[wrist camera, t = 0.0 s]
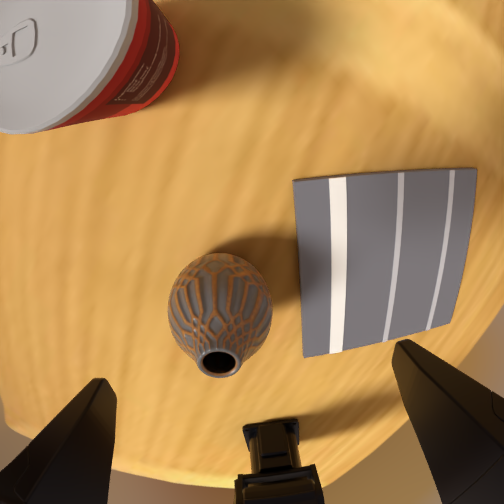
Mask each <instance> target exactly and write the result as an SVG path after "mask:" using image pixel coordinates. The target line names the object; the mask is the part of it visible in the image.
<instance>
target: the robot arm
mask: <svg viewBox="0 0 504 504" xmlns="http://www.w3.org/2000/svg"><path fill="white" fill-rule="evenodd" d="M392 367H393V370H394V374H395V377H396V380H397V383H398V386H399V390H400V393H401V396H402V400H403V403H404V406H405V408H406V411H407V413H408V416H409V418H410V421H411V423H412V425H413V428H414V430H415V433H416V435H417V437H418V440H419V442H420V445H421V447H422V450H423V452H424V455H425V458H426V460H427V463H428V465H429V468H430V470H431V473H432V476H433V479H434V481H435V484H436V487H437V490H438V492H439V495H440V498H441V501H442V504H504V398H502V397H501V396H499V395H498V394H496V393H494V392H493V391H492V392H491V390H490V389H488V388H487V387H485V386H483V385H482V384H480V383H479V382H477V381H475V380H474V379H472V378H471V377H469V376H467V375H466V374H464V373H463V372H461V371H459V370H458V369H456V368H455V367H453V366H452V365H450V364H448V363H447V362H445V361H444V360H442V359H440V358H439V357H437V356H436V355H434V354H432V353H431V352H429V351H428V350H426V349H424V348H423V347H421V346H420V345H418V344H416V343H415V342H413V341H412V340H410V339H405V340H401V341H398V342H397V343H396V344H395V348H394V353H393V357H392ZM116 408H117V397H116V394H115V392H114V391H113V389H112V387H111V386H110V384H109V382H108V381H107V380H106V379H105V378H94V379H92V380H91V381H90V382H89V383H88V384H87V385H86V386H85V387H84V388H83V389H82V390H81V391H80V392H79V393H78V394H77V395H76V396H75V397H74V398H73V399H72V400H71V401H70V402H69V403H68V404H67V405H66V406H65V407H64V408H63V409H62V410H61V411H60V412H59V414H58V415H57V416H56V417H55V418H54V419H53V420H52V421H51V422H50V423H49V424H48V425H47V426H46V427H45V428H44V429H43V430H42V431H41V432H40V433H39V434H38V435H37V436H36V437H35V438H34V439H33V440H32V441H31V442H30V444H29V445H28V446H26V448H25V449H24V450H23V451H22V452H21V453H20V454H19V455H18V456H17V457H16V458H15V459H14V460H13V461H12V462H11V463H9V464H8V466H6V467H5V468H4V469H3V470H1V472H0V504H107V501H108V490H109V481H110V474H111V466H112V458H113V451H114V443H115V427H116ZM242 429H243V434H244V437H245V440H246V443H247V447H248V450H249V452H250V458H251V470H252V474H244V475H243V474H238V479H236V480H234V482H235V495H234V503H233V504H325V503H324V496H323V491H322V487H321V484H320V480H319V477H318V473H317V470H316V466H315V464H312V465H310V466H305V467H302V466H301V460H300V455H299V450H298V445H299V423H298V420H297V419H291V420H285V421H278V422H271V423H264V424H255V425H247V426H243V428H242Z"/></svg>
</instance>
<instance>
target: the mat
mask: <svg viewBox="0 0 504 504" xmlns="http://www.w3.org/2000/svg"><path fill="white" fill-rule="evenodd" d="M476 179H477V169H475V168H442V169H419V170H400V171H385V172H371V173H358V174H346V175H335V176H325V177H315V178H306V179H297V180H292V181H293V192H294V204H295V217H296V230H297V245H298V260H299V277H300V296H301V317H302V343H303V356H304V358H307V357H313V356H318V355H323V354H329V353H330V354H333V353H338V352H342V351H343V350H348V349H353V348H357V347H362V346H366V345H371V344H375V343H379V342H386V341H387V340H391V339H395V338H399V337H403V336H407V335H411V334H414V333H418V332H422V331H425V330H426V331H427V330H430V329H432V328H435V327H439V326H442V325H445V324H449V323H450V321H451V318H452V314H453V311H454V307H455V303H456V300H457V296H458V292H459V288H460V283H461V279H462V274H463V270H464V265H465V260H466V255H467V249H468V244H469V238H470V231H471V225H472V217H473V210H474V201H475V191H476Z"/></svg>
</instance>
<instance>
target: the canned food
mask: <svg viewBox="0 0 504 504" xmlns="http://www.w3.org/2000/svg"><path fill="white" fill-rule="evenodd" d="M178 60H179V43H178V39H177V35H176V33H175V31H174V29H173V27H172V26H171V24H170V23H169V22H168V20H167V19H166V18H165V16H164V15H163V13H162V12H161V11H160V9H159V8H158V7H157V5H156V4H155V3H154V2H153V0H0V132H3V133H7V134H30V133H37V132H41V131H47V130H51V129H56V128H60V127H65V126H69V125H74V124H79V123H84V122H89V121H94V120H100V119H105V118H111V117H117V116H124V115H127V114H130V113H133V112H136V111H138V110H140V109H142V108H144V107H146V106H147V105H149V104H150V103H151V102H153V101H154V100H155V99H157V98H158V96H159V95H160V94H161V93H162V92H163V91H164V90H165V89H166V87H167V86H168V84H169V83H170V81H171V80H172V78H173V76H174V73H175V71H176V69H177V65H178Z"/></svg>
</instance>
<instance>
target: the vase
mask: <svg viewBox="0 0 504 504" xmlns="http://www.w3.org/2000/svg"><path fill="white" fill-rule="evenodd" d="M272 311H273V309H272V300H271V296H270V292H269V289H268V286H267V284H266V282H265V280H264V278H263V277H262V275H261V274H260V273H259V271H258V270H257V269H256V268H255V267H254V266H253V265H251V264H250V263H249V262H247V261H246V260H244V259H242V258H240V257H238V256H235V255H232V254H227V253H213V254H208V255H205V256H202V257H200V258H198V259H196V260H194V261H193V262H191V263H190V264H189V265H188V266H186V267H185V268H184V269H183V270H182V272H181V273H180V274H179V276H178V277H177V279H176V280H175V282H174V285H173V287H172V290H171V293H170V296H169V301H168V319H169V324H170V328H171V331H172V334H173V336H174V338H175V340H176V342H177V344H178V345H179V346H180V348H181V349H182V350H183V351H184V352H185V353H186V354H187V355H188V356H189V357H191V358H192V359H193V360H194V361H195V362H196V364H197V366H198V368H199V369H200V370H201V371H202V372H203V373H204V374H206V375H208V376H211V377H215V378H224V377H229V376H231V375H233V374H235V373H236V372H237V371H238V370H239V369H240V367H241V366H242V364H243V362H245V361H246V360H247V359H249V358H250V357H251V356H253V355H254V354H255V353H256V352H257V351H258V350H259V349H260V347H261V346H262V345H263V343H264V341H265V339H266V338H267V335H268V333H269V330H270V326H271V321H272Z"/></svg>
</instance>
